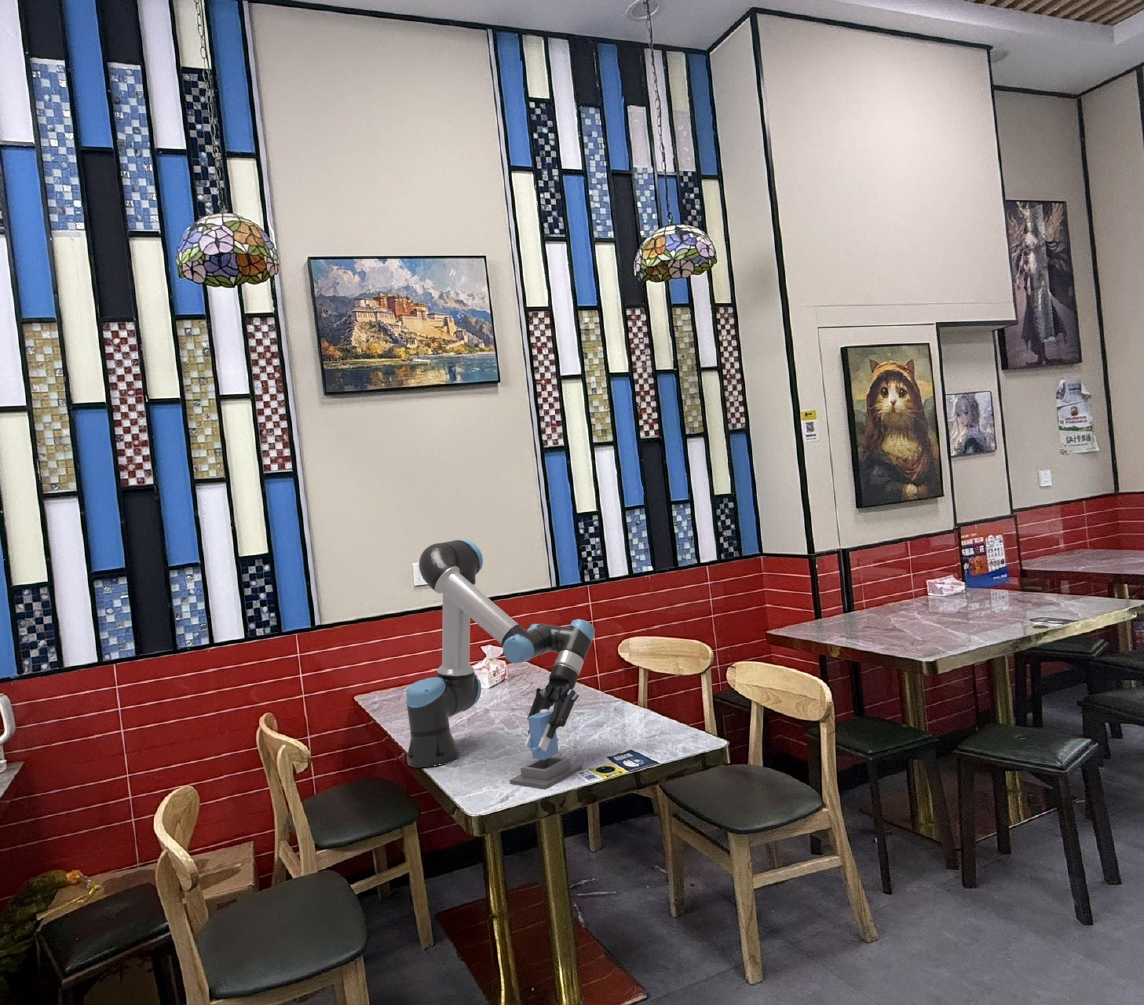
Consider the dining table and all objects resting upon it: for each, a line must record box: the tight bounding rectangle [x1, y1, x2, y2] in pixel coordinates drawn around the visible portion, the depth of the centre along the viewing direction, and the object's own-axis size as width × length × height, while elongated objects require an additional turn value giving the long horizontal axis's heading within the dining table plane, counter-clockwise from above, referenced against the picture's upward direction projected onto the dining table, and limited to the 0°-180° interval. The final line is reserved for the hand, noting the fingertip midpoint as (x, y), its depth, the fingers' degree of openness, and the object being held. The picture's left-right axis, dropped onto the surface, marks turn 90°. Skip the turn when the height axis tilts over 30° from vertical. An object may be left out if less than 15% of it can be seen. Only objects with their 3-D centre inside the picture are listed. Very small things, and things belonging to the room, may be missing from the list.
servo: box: [527, 709, 560, 760], centre depth 221 cm, size 10×4×12 cm, turn 143°
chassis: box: [509, 755, 583, 790], centre depth 221 cm, size 16×12×4 cm
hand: (535, 748), depth 218 cm, fingers closed on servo, 4 cm apart
